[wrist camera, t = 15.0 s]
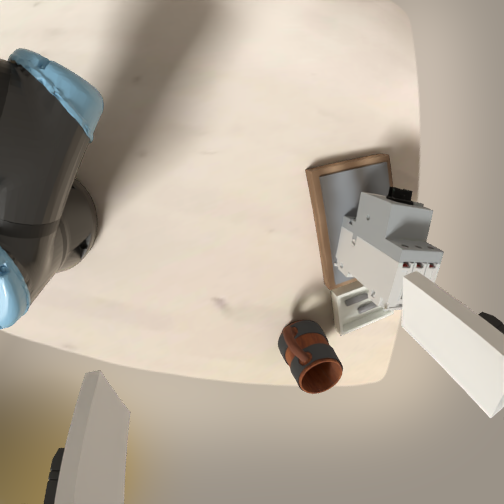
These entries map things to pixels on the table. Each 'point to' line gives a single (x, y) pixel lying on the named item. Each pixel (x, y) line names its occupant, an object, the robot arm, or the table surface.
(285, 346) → the mug
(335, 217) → the framed panel
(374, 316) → the tray
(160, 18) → the table surface
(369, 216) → the circuit breaker
